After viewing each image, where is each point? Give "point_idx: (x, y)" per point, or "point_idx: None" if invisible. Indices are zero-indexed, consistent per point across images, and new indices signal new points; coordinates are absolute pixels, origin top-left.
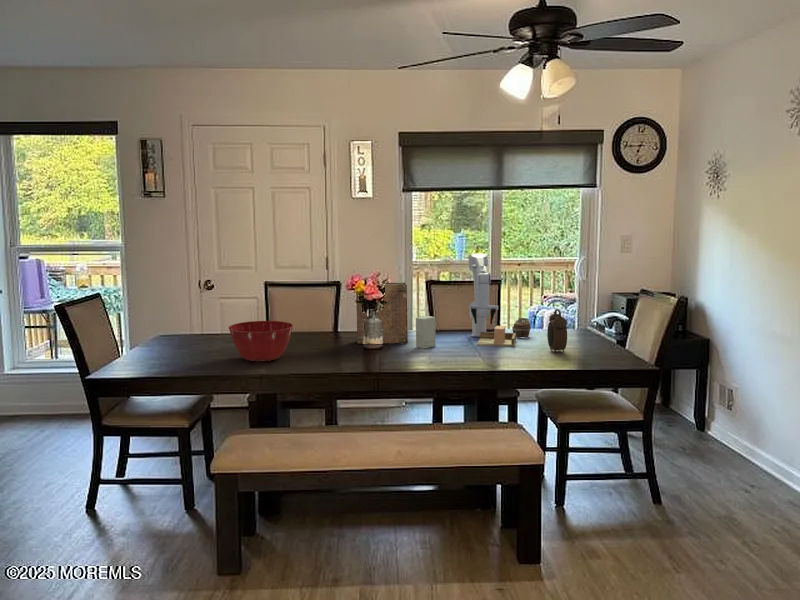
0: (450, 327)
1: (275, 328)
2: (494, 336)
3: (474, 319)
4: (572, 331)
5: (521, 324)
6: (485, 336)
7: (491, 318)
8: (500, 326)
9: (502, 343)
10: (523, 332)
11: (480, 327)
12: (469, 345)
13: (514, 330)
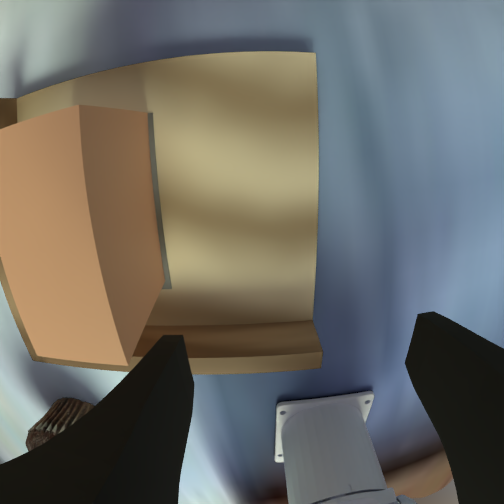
0: (420, 481)
1: None
2: (122, 110)
3: (481, 338)
4: None
5: None
6: (269, 331)
7: (126, 395)
8: (65, 333)
9: None
10: (49, 419)
11: (324, 451)
12: (373, 59)
13: None
